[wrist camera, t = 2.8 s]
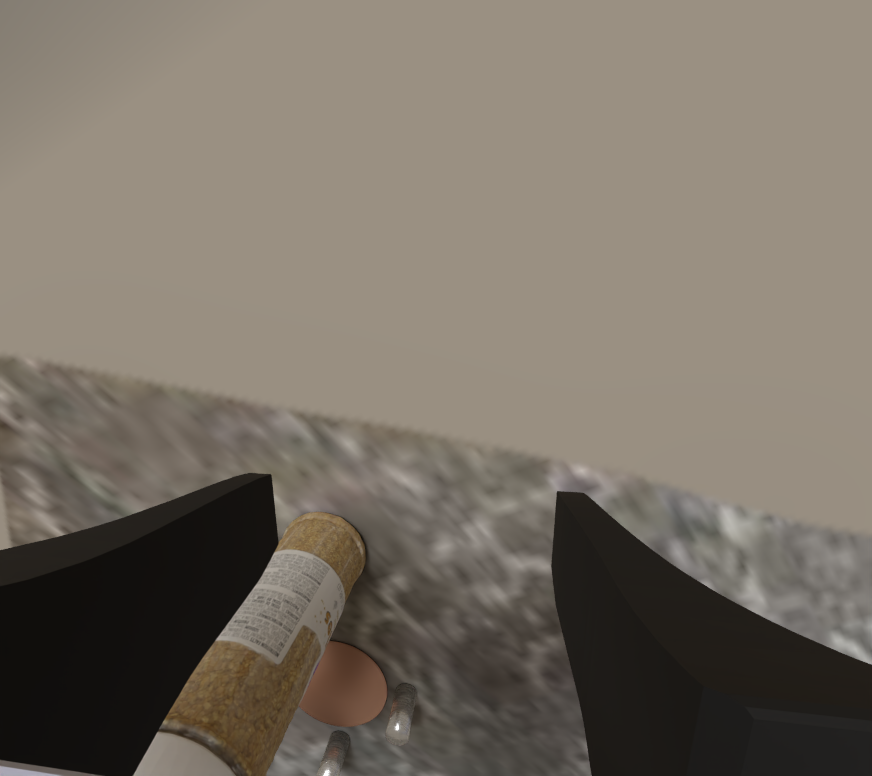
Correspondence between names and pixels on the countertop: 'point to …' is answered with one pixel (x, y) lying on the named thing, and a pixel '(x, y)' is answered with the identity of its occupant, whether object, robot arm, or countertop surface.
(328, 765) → the guide pins
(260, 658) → the sprinkles bottle
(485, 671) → the countertop surface
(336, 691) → the wooden bar with disc
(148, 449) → the countertop surface
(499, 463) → the countertop surface
